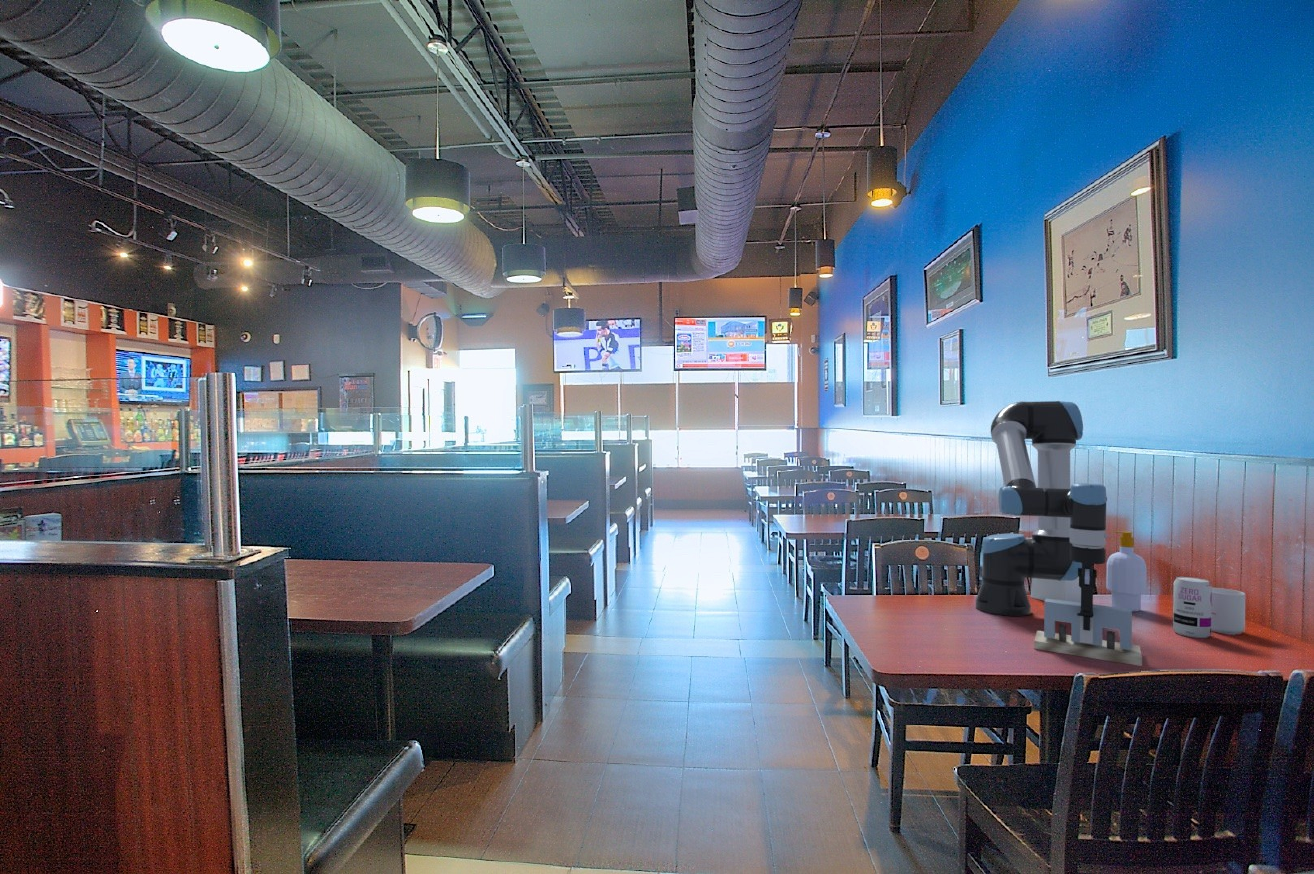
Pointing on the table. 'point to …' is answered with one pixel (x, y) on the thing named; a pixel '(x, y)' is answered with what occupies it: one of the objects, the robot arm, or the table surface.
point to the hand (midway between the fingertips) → (1086, 640)
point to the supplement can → (1192, 607)
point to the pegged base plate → (1088, 647)
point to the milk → (1056, 590)
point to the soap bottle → (1126, 575)
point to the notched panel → (1101, 618)
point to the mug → (1227, 611)
